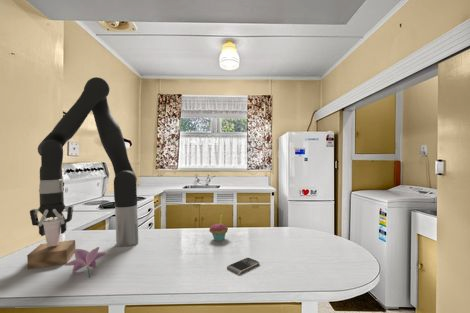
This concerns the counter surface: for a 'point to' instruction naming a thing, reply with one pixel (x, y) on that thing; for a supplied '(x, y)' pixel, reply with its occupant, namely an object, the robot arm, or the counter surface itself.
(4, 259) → the counter surface
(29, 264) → the walnut block
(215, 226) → the cupcake
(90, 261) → the lily
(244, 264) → the cell phone
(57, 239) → the smoothie
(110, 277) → the counter surface
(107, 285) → the counter surface
